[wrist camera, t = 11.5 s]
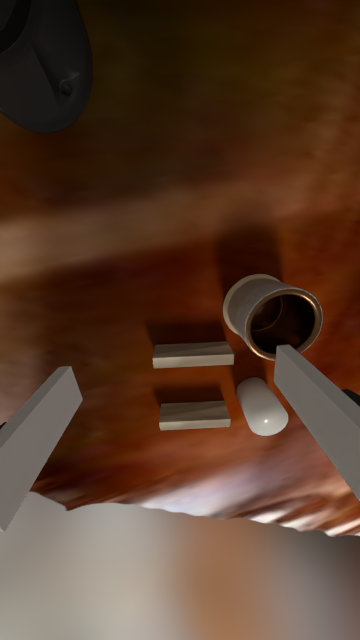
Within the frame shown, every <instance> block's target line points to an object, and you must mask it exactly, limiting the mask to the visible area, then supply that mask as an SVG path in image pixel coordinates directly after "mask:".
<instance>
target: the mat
mask: <svg viewBox="0 0 360 640" xmlns="http://www.w3.org/2000/svg"><path fill="white" fill-rule="evenodd" d="M257 278H268V279H272V280H276V281H279V280H278V279H276V278H275V277H272V276H269V275H265V274H254V275H250V276H247V277H244V278H243V279H241V280H239V281H238V282H236V283H235V284H234V285H233V286H232V287H231V289H230V290H229V291H228V293H227V295H226V297H225V300H224V303H223V316H224V319H225V322H226V324H227V325H228V326H229V328H230V329H231V330H232V331H233V332H235V333H236V334H238V332H237V331H236V330H235V329H234V327H233V326H232V324H231V322H230V320H229V317H228V305H229V301H230V299H231V297H232V295H233V293H234V292H235V291H236V290H237V289H238V288H239V287H240V286H241V285H242V284H244V283H245V282H247V281H250V280H253V279H257ZM279 282H280V281H279ZM238 335H239V334H238Z"/></svg>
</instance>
